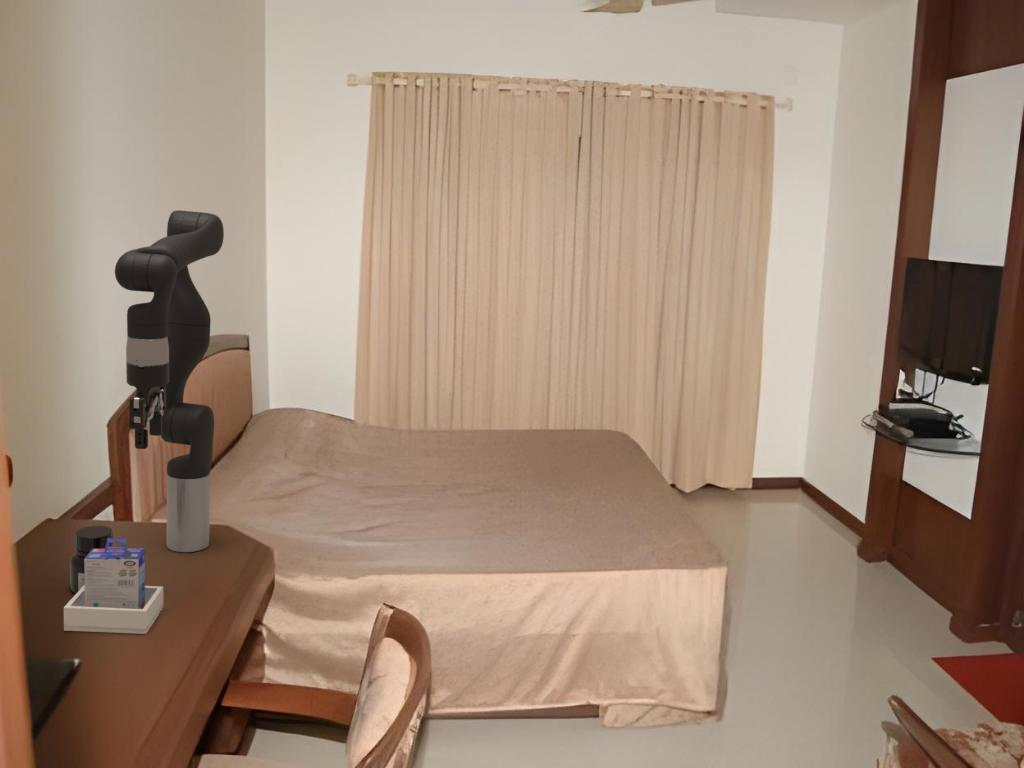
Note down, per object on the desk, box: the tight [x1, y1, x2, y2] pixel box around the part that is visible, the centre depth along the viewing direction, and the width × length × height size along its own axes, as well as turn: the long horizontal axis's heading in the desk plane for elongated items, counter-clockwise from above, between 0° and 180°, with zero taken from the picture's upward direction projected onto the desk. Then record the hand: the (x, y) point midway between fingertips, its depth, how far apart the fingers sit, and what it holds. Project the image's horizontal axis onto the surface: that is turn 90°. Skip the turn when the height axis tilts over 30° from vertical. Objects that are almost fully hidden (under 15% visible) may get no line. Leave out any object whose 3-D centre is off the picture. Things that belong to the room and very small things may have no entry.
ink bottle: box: [69, 525, 114, 594], centre depth 184 cm, size 10×9×12 cm
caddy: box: [63, 585, 164, 635], centre depth 173 cm, size 11×15×4 cm
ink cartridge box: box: [84, 537, 146, 609], centre depth 172 cm, size 10×6×14 cm, turn 100°
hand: (148, 441), depth 177 cm, fingers open, 8 cm apart
